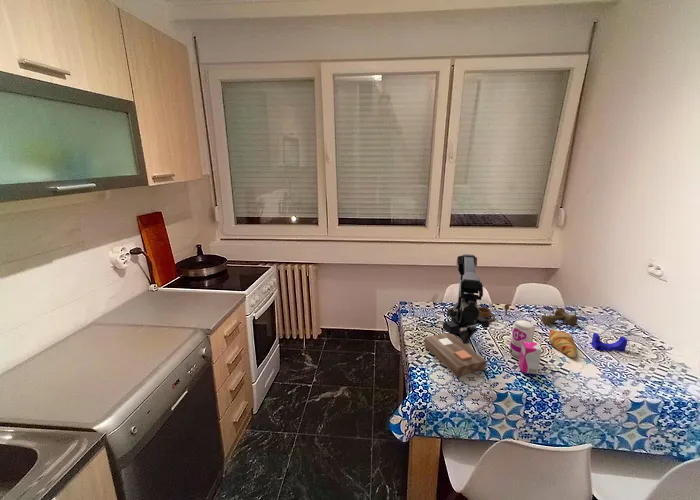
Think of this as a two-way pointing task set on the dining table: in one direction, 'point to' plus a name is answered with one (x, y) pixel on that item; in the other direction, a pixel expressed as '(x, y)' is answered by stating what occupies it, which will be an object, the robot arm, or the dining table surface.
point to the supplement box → (530, 358)
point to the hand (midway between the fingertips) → (464, 343)
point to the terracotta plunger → (462, 355)
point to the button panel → (449, 359)
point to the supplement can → (521, 336)
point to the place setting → (487, 312)
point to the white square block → (445, 341)
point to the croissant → (563, 342)
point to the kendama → (559, 317)
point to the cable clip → (616, 346)
